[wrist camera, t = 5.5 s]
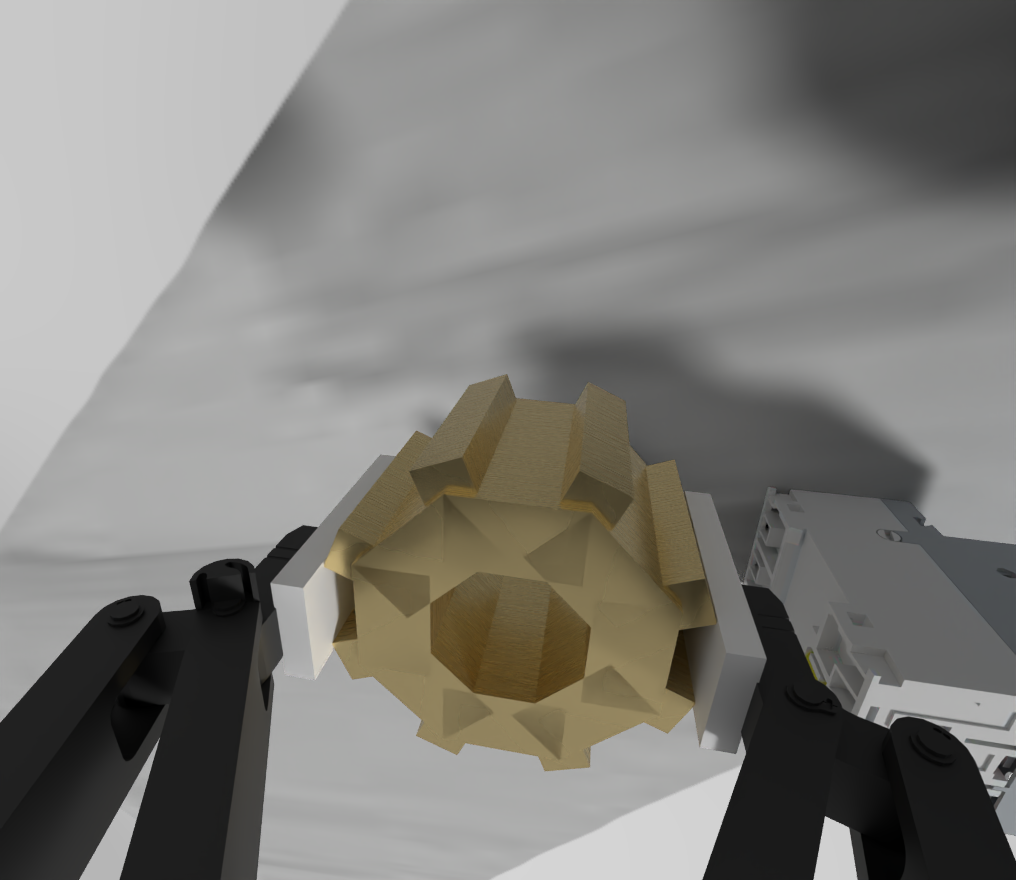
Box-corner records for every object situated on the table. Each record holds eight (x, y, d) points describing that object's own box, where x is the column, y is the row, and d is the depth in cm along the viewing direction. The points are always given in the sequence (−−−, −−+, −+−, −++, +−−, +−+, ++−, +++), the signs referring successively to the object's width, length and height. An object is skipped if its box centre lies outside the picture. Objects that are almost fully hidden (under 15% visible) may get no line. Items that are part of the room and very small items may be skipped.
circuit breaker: (973, 613, 36) (1191, 867, 22) (743, 583, 38) (815, 800, 24) (1022, 513, 33) (1307, 738, 19) (767, 486, 35) (866, 674, 21)
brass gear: (703, 390, 16) (754, 496, 10) (654, 631, 19) (672, 802, 14) (402, 362, 17) (305, 443, 11) (409, 594, 20) (338, 740, 15)
